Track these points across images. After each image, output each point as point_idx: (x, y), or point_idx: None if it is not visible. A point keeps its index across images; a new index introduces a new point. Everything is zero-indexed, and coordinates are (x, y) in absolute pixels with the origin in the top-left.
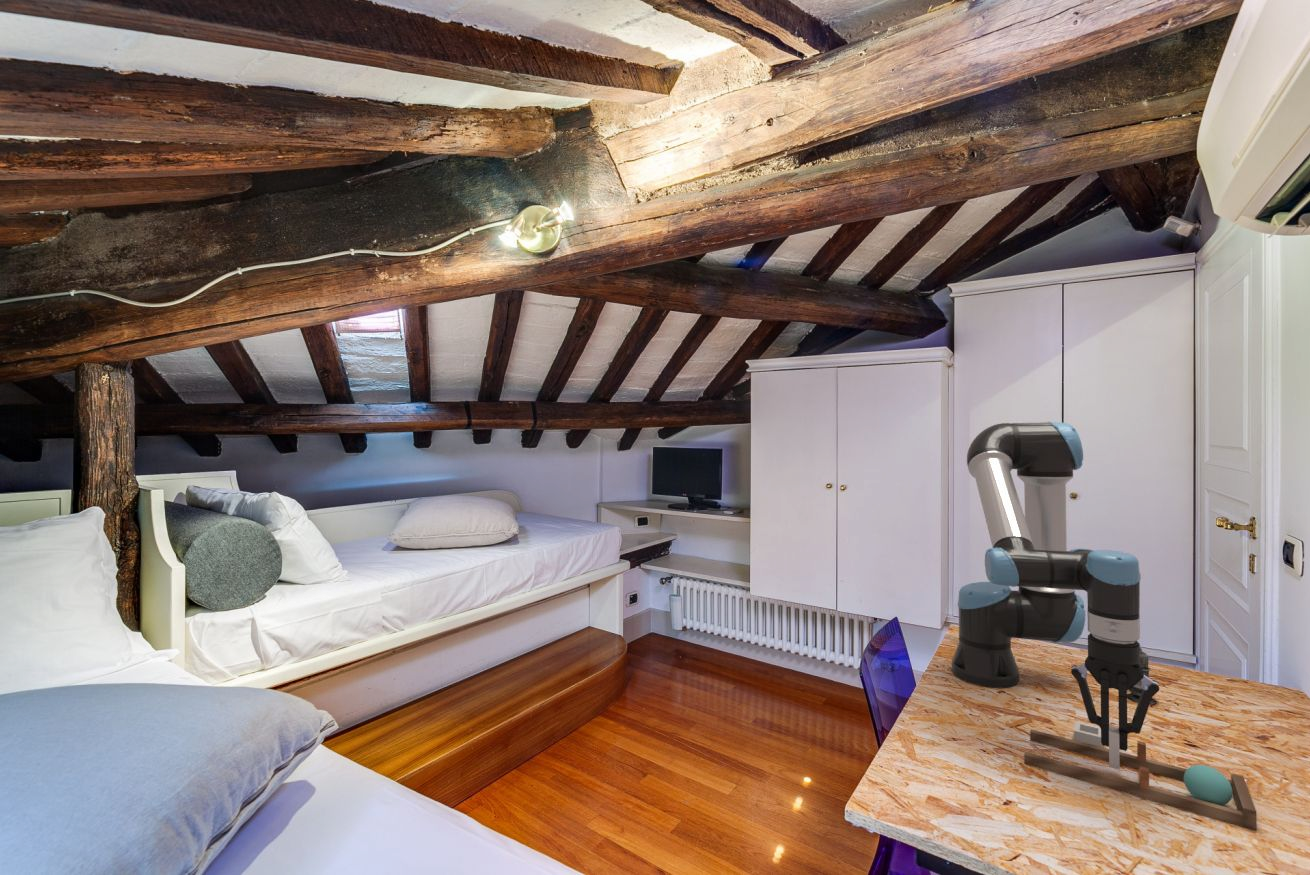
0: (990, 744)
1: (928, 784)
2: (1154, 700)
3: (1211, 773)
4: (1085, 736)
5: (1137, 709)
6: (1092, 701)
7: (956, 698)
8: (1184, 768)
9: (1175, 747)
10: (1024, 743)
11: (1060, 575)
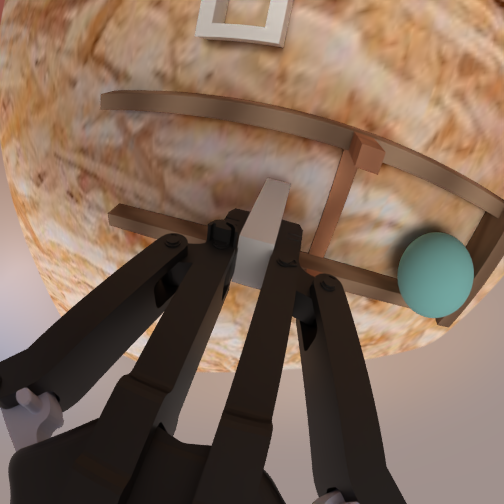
0: (71, 167)
1: (72, 293)
2: None
3: (440, 315)
4: (228, 38)
5: (310, 392)
6: (138, 302)
7: (24, 18)
8: (448, 171)
9: (470, 9)
10: (108, 126)
11: None
